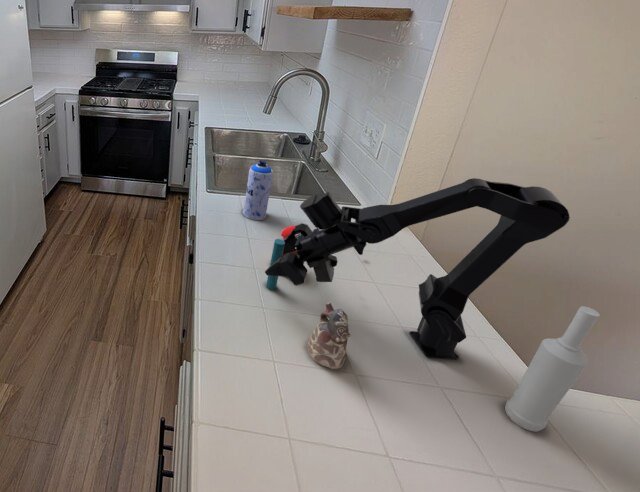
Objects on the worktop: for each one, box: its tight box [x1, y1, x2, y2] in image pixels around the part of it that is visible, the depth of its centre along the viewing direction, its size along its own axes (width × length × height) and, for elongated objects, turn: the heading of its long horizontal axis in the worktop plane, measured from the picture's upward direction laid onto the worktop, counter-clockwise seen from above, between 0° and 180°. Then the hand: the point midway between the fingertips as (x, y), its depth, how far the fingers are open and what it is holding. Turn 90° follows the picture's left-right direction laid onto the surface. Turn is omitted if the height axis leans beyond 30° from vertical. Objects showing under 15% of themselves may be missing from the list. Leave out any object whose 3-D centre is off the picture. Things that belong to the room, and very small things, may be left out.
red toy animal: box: [280, 225, 296, 241], centre depth 116 cm, size 8×6×6 cm
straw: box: [265, 238, 285, 291], centre depth 97 cm, size 2×2×14 cm
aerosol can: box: [242, 159, 274, 221], centre depth 129 cm, size 8×8×20 cm
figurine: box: [307, 301, 352, 370], centre depth 78 cm, size 7×7×12 cm
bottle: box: [504, 305, 601, 433], centre depth 64 cm, size 5×5×25 cm
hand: (270, 263), depth 97 cm, fingers open, 9 cm apart
